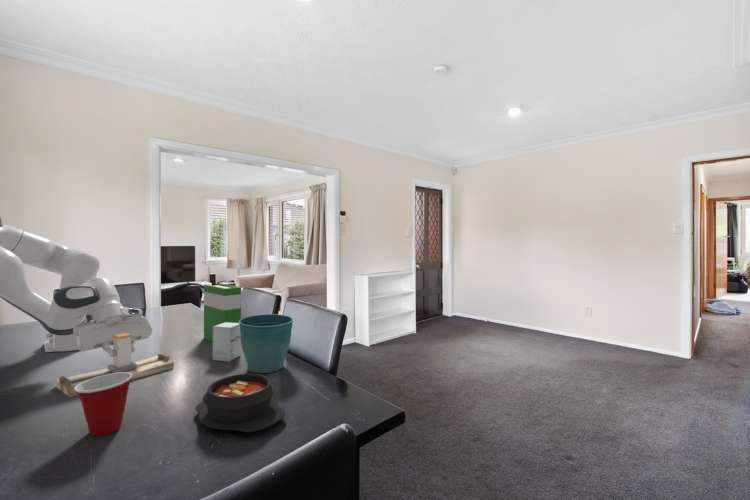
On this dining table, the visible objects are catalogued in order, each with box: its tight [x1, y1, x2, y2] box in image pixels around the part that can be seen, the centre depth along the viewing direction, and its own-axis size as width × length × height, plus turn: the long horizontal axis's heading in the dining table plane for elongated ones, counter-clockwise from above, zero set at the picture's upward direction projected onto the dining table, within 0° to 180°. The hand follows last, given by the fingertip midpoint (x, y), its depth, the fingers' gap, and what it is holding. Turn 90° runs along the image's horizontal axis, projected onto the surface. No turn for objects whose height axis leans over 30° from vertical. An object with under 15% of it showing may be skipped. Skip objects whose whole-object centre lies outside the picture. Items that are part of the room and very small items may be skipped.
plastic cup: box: [74, 372, 132, 438], centre depth 82 cm, size 11×11×12 cm
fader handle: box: [107, 333, 137, 373], centre depth 113 cm, size 6×6×11 cm
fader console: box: [55, 352, 175, 398], centre depth 113 cm, size 12×28×4 cm, turn 146°
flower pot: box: [239, 313, 294, 374], centre depth 123 cm, size 18×18×17 cm
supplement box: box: [212, 322, 242, 362], centre depth 132 cm, size 7×7×13 cm
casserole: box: [195, 373, 286, 433], centre depth 89 cm, size 25×19×8 cm
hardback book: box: [203, 282, 242, 342], centre depth 154 cm, size 18×7×24 cm, turn 52°
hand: (123, 353), depth 113 cm, fingers closed on fader handle, 4 cm apart
